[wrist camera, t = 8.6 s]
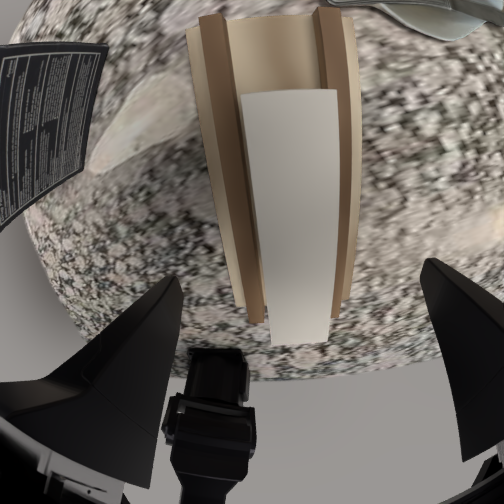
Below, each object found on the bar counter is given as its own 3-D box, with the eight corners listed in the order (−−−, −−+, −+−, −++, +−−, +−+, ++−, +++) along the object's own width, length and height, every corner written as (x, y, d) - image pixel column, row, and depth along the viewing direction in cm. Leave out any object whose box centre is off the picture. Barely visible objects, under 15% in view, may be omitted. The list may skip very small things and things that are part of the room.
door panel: (271, 258, 21) (271, 345, 14) (253, 92, 14) (240, 94, 7) (311, 255, 20) (327, 341, 14) (303, 88, 14) (336, 89, 7)
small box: (53, 42, 11) (-50, 55, 3) (112, 43, 12) (-3, 40, 4) (34, 157, 17) (-50, 213, 8) (85, 172, 18) (-5, 243, 9)
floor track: (237, 298, 25) (234, 323, 22) (189, 32, 12) (174, 23, 10) (346, 291, 23) (353, 315, 21) (348, 21, 11) (362, 10, 9)
